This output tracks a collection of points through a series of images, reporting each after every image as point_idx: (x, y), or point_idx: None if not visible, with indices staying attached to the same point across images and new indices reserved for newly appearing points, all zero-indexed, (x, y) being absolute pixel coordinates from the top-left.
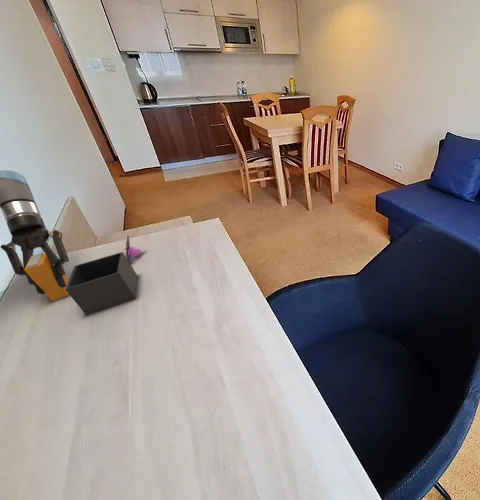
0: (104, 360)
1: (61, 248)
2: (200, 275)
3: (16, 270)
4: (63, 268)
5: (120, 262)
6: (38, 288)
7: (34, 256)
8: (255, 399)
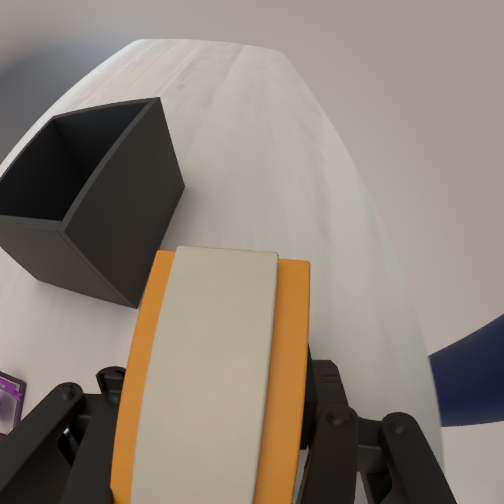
0: (192, 91)
1: (5, 437)
2: None
3: (409, 438)
4: None
5: (16, 157)
6: None
7: (204, 494)
8: (129, 57)
